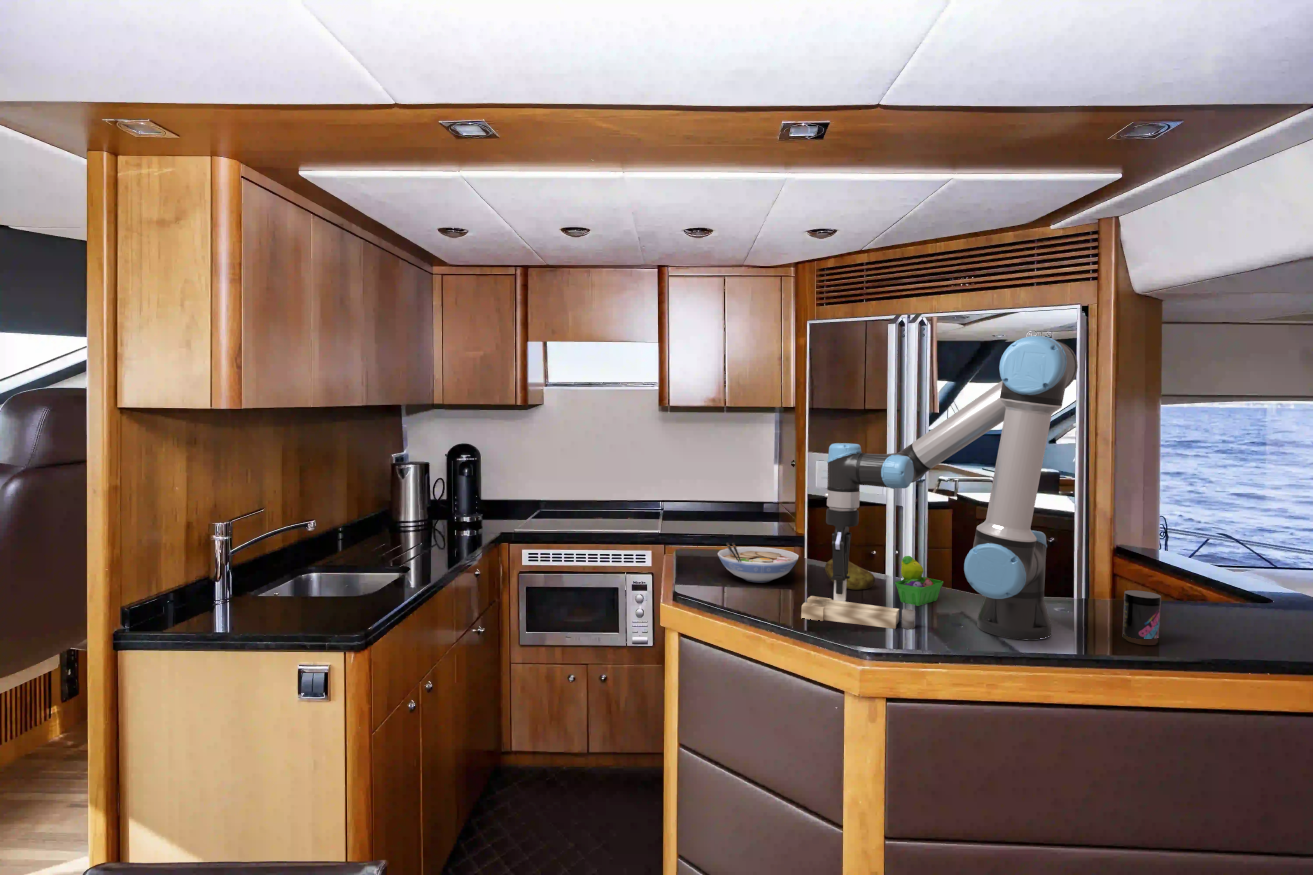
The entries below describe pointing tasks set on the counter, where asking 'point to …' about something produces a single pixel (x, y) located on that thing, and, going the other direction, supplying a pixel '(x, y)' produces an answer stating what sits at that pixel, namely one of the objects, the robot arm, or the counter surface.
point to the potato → (853, 576)
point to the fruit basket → (916, 584)
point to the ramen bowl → (757, 562)
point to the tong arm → (851, 605)
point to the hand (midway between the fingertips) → (839, 606)
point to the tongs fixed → (857, 616)
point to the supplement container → (1141, 614)
